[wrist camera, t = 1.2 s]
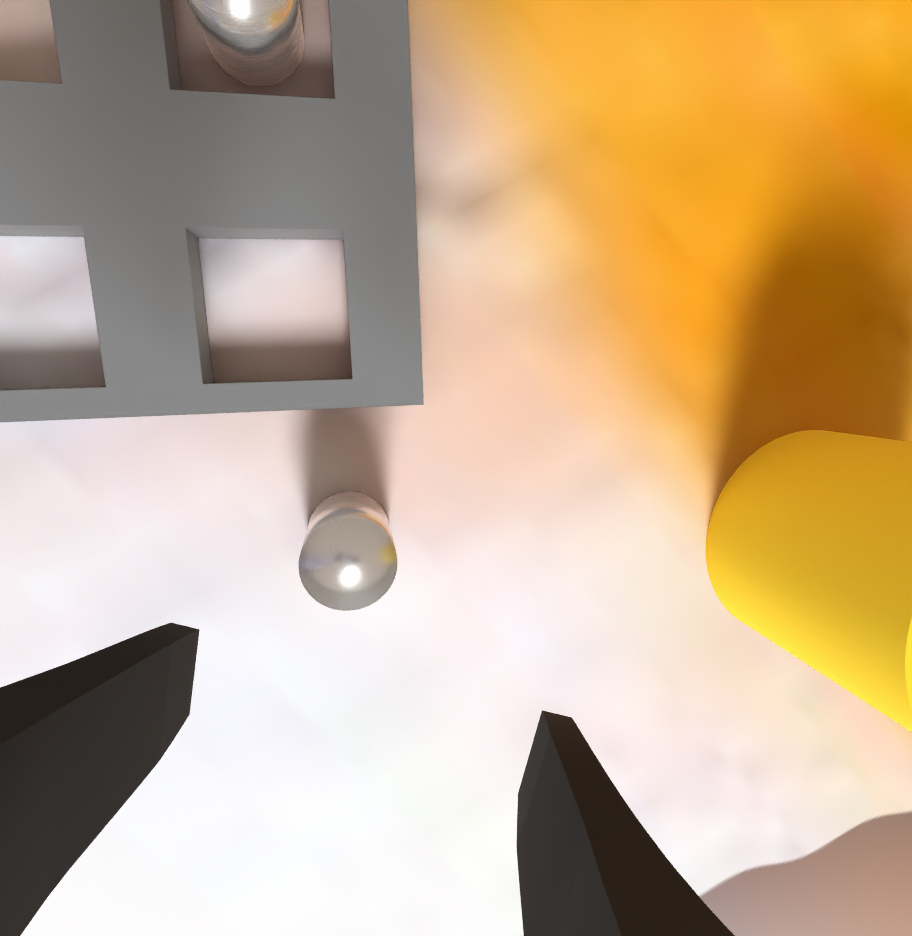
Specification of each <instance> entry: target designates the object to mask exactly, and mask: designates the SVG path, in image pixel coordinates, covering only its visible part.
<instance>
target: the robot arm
mask: <svg viewBox="0 0 912 936" xmlns="http://www.w3.org/2000/svg"><path fill="white" fill-rule="evenodd" d="M198 637H199V629H195V628H191V627H187V626H182V625H178V624H174V623H169V624H166V625H163V626H160V627H157V628H155V629H152V630H149V631H147V632H144V633H142V634H139V635H137V636H134V637H132V638H129V639H127V640H124V641H122V642H120V643H117V644H115V645H112V646H110V647H107V648H105V649H102V650H100V651H97V652H95V653H92V654H90V655H87V656H85V657H82V658H80V659H77V660H75V661H72V662H70V663H67V664H65V665H62V666H59V667H56V668H54V669H51V670H48V671H45V672H43V673H40V674H37V675H34V676H32V677H29V678H26V679H23V680H20V681H18V682H15V683H12V684H9V685H7V686H4V687H1V688H0V936H20V935H21V934H22V932H23V931H24V930H25V928H26V927H27V925H28V924H29V922H30V921H31V920H32V918H33V917H34V915H35V914H36V913H37V911H38V910H39V908H40V907H41V905H42V904H43V903H44V901H45V900H46V898H47V897H48V896H49V894H50V893H51V892H52V891H53V889H54V888H55V887H56V886H57V884H58V883H59V882H60V880H61V879H62V878H63V877H64V875H65V874H66V873H67V871H68V870H69V869H70V868H71V867H72V865H73V864H74V863H75V862H76V861H77V859H78V858H79V857H80V856H81V855H82V853H83V852H84V851H85V850H86V849H87V847H88V846H89V845H90V844H91V843H92V841H93V840H94V839H95V838H96V837H97V835H98V834H99V833H100V832H101V831H102V829H103V828H104V827H105V826H106V825H107V823H108V822H109V821H110V820H111V819H112V818H113V816H114V815H115V814H116V813H117V812H118V810H119V809H120V808H121V807H122V806H123V804H124V803H125V802H126V801H127V800H128V798H129V797H130V796H131V795H132V794H133V792H134V791H135V790H136V789H137V787H138V786H139V785H140V784H141V783H142V781H143V780H144V779H145V778H146V777H147V775H148V774H149V773H150V772H151V770H152V769H153V768H154V767H155V765H156V764H157V763H158V762H159V760H160V759H161V757H162V756H163V755H164V753H165V752H166V750H167V749H168V747H169V746H170V744H171V743H172V741H173V740H174V738H175V736H176V735H177V733H178V732H179V730H180V729H181V727H182V725H183V724H184V722H185V721H186V719H187V717H188V716H189V713H190V705H191V696H192V688H193V679H194V671H195V662H196V654H197V645H198ZM517 858H518V871H519V883H520V895H521V907H522V919H523V930H524V936H734V935H733V934H732V932H730V930H728V929H727V927H726V926H725V925H724V924H723V923H722V922H721V921H720V920H719V919H718V918H717V916H716V915H715V914H714V913H712V911H711V910H710V909H709V908H708V907H707V905H706V904H704V902H703V901H702V900H701V899H700V897H699V896H698V895H697V894H696V893H695V891H694V890H693V889H692V888H691V887H690V886H689V884H688V883H687V882H686V881H685V880H684V879H683V877H682V876H681V875H680V874H679V873H678V872H677V870H676V869H675V868H674V867H673V865H672V864H671V863H670V862H669V860H668V859H667V858H666V857H665V855H664V854H663V853H662V852H661V850H660V849H659V848H658V846H657V845H656V844H655V842H654V841H653V840H652V838H651V837H650V836H649V834H648V833H647V832H646V830H645V829H644V828H643V826H642V825H641V823H640V822H639V821H638V819H637V818H636V817H635V815H634V814H633V812H632V811H631V809H630V808H629V807H628V805H627V804H626V802H625V801H624V799H623V798H622V796H621V795H620V793H619V792H618V790H617V789H616V787H615V786H614V784H613V783H612V781H611V780H610V778H609V777H608V775H607V774H606V772H605V770H604V769H603V767H602V766H601V764H600V762H599V761H598V759H597V758H596V756H595V754H594V753H593V751H592V750H591V748H590V746H589V745H588V743H587V741H586V740H585V738H584V737H583V735H582V733H581V732H580V730H579V728H578V727H577V725H576V724H575V722H574V720H573V719H572V718H571V717H567V716H563V715H559V714H554V713H550V712H546V711H542V713H541V716H540V720H539V723H538V727H537V730H536V734H535V737H534V741H533V744H532V747H531V751H530V754H529V758H528V761H527V765H526V768H525V772H524V775H523V779H522V782H521V786H520V789H519V793H518V815H517Z"/></svg>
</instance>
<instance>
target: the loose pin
mask: <svg viewBox="0 0 912 936" xmlns="http://www.w3.org/2000/svg"><path fill="white" fill-rule="evenodd" d="M396 571H397V554H396V550H395V546H394V542H393V538H392V534H391V530H390V526H389V522H388V518H387V515H386V513H385V511H384V509H383V508H382V507H381V505H380V504H379V503H378V502H377V501H376V500H374V499H373V498H371V497H369V496H368V495H365V494H363V493H359V492H352V491H346V492H340V493H336V494H334V495H331V496H329V497H328V498H326V499H324V500H323V501H322V502H321V503H320V504H319V505H318V506H317V507H316V508H315V510H314V511H313V513H312V515H311V517H310V521H309V524H308V528H307V532H306V535H305V539H304V543H303V546H302V550H301V554H300V558H299V574H300V578H301V581H302V583H303V585H304V587H305V589H306V590H307V592H308V593H309V594H310V595H311V597H313V598H314V599H315V600H316V601H318V602H319V603H321V604H322V605H324V606H326V607H329V608H332V609H337V610H345V611H346V610H356V609H360V608H364V607H366V606H369V605H371V604H373V603H374V602H376V601H377V600H379V599H380V598H381V597H382V596H383V595H384V594H385V593H386V592H387V591H388V589H389V588H390V586H391V585H392V583H393V580H394V578H395V575H396Z"/></svg>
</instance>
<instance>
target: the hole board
mask: <svg viewBox="0 0 912 936" xmlns="http://www.w3.org/2000/svg"><path fill="white" fill-rule="evenodd" d="M50 6H51V13H52V20H53V26H54V33H55V40H56V47H57V54H58V61H59V68H60V75H61V82H62V84H61V83H43V82H26V81H8V80H0V236H70V237H84V240H85V247H86V254H87V261H88V268H89V275H90V282H91V289H92V296H93V302H94V309H95V316H96V323H97V330H98V337H99V344H100V351H101V358H102V365H103V371H104V378H105V385H106V386H105V387H74V388H44V389H13V390H0V422H19V421H43V420H67V419H91V418H115V417H139V416H163V415H187V414H211V413H235V412H259V411H283V410H307V409H331V408H355V407H379V406H403V405H423V379H422V354H421V328H420V303H419V277H418V252H417V226H416V201H415V175H414V150H413V124H412V99H411V74H410V48H409V23H408V0H329V13H330V29H331V45H332V61H333V77H334V93H335V99H328V98H310V97H292V96H275V95H257V94H239V93H221V92H203V91H186V90H181V81H180V72H179V63H178V53H177V44H176V35H175V26H174V17H173V7H172V0H50ZM198 238H241V239H327V240H344V253H345V269H346V285H347V301H348V317H349V332H350V348H351V364H352V379H321V380H290V381H259V382H229V383H213V375H212V365H211V356H210V347H209V338H208V329H207V320H206V310H205V301H204V292H203V283H202V274H201V265H200V255H199V246H198Z"/></svg>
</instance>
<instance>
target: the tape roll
mask: <svg viewBox="0 0 912 936" xmlns="http://www.w3.org/2000/svg"><path fill="white" fill-rule="evenodd" d="M706 562H707V568H708V573H709V577H710V580H711V583H712V586H713V588H714V590H715V592H716V594H717V596H718V598H719V599H720V601H721V602H722V604H723V605H724V606H725V608H726V609H727V610H728V611H729V612H730V613H731V614H732V615H733V616H735V617H736V618H737V619H738V620H740V621H741V622H743V623H744V624H746V625H748V626H749V627H751V628H752V629H754V630H755V631H757V632H758V633H760V634H761V635H763V636H765V637H766V638H768V639H769V640H771V641H772V642H774V643H775V644H777V645H778V646H780V647H781V648H783V649H785V650H786V651H788V652H789V653H791V654H792V655H794V656H795V657H797V658H798V659H800V660H801V661H803V662H805V663H806V664H808V665H809V666H811V667H812V668H814V669H815V670H817V671H818V672H820V673H822V674H823V675H825V676H826V677H828V678H829V679H831V680H832V681H834V682H835V683H837V684H838V685H840V686H842V687H843V688H845V689H846V690H848V691H849V692H851V693H852V694H854V695H855V696H857V697H858V698H860V699H862V700H863V701H865V702H866V703H868V704H869V705H871V706H872V707H874V708H875V709H877V710H878V711H880V712H882V713H883V714H885V715H886V716H888V717H889V718H891V719H892V720H894V721H895V722H897V723H899V724H900V725H902V726H903V727H905V728H906V729H908V730H909V731H911V732H912V442H908V441H901V440H893V439H886V438H878V437H871V436H863V435H856V434H848V433H840V432H833V431H825V430H804V431H798V432H794V433H790V434H787V435H784V436H782V437H779V438H777V439H775V440H773V441H771V442H769V443H767V444H766V445H764V446H762V447H761V448H759V449H758V450H757V451H755V452H754V453H753V454H752V455H750V456H749V457H748V458H747V459H746V460H745V461H744V462H743V463H742V464H741V465H740V466H739V467H738V468H737V470H736V471H735V472H734V473H733V474H732V476H731V477H730V478H729V480H728V481H727V483H726V484H725V486H724V488H723V489H722V491H721V493H720V495H719V497H718V499H717V501H716V504H715V506H714V509H713V511H712V514H711V518H710V521H709V526H708V531H707V538H706Z"/></svg>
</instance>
